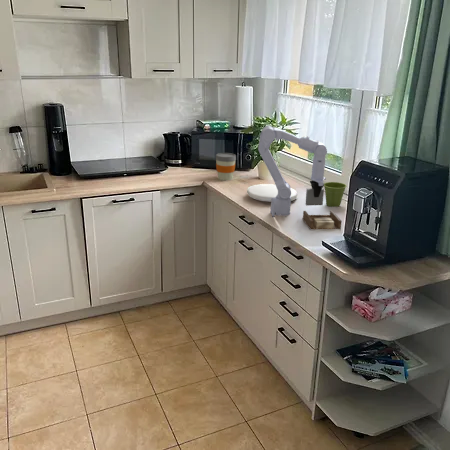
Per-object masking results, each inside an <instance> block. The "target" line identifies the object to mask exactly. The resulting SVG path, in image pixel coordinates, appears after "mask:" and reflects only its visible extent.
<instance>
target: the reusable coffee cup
mask: <svg viewBox="0 0 450 450" xmlns="http://www.w3.org/2000/svg"><path fill="white" fill-rule="evenodd" d="M236 156H237V155H236V154H234V153H231V152H220V153H219V152H218V153H217V154H215V161H216V163H215V167H216V172H217V179H218V180H219V181H231V180H233V177H234V173H235V169H236V160H237V157H236Z"/></svg>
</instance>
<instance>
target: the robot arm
mask: <svg viewBox="0 0 450 450" xmlns="http://www.w3.org/2000/svg"><path fill="white" fill-rule="evenodd" d="M274 140H275V141H280V140H284V141H286V142H289V143H293V144H295V145H297V146H298V148H299V149H301V150H303V151H305V152H308V153H311V154H313V159H312V168H311V175H310V180H309V183H310V185H311V188H313V189H314V197H319V195H320V192H321V190H322V188H323V189H324V183H325V182H324V180H327V178H326V177H325V168H326V155H327V153H328V149H327V147H326V145H325V144H324V143H323V142H321V141H319V140H314V139H311V138H310V136H307V135H306V136H302V137H299V136H296V135H294V134H293V133H290V132H287V131H286V130H283V129H281V128H279V127H275V126H271V125H266V126H264V127H263V128H262V130H261V132H260V134H259V142H258V147H257V148H258V149H257V150H258V152H259V155H260V156H261V158H262V160H263V162H264V165H265V166H266V169H267V170H268V172H269V174H270V177H271V178H272V180H273V182H274V184H275V185H276V187H277V190H278V195H277V196H276V197H275V198H272V199H271V202H270V211H269V212H270V215H271V216H272V218H276V217H275V216H289V215H290V214H291V206H292V205H291V203H292V201H291V190H290V188H291V185H290V183H288V182H287V181H286V179H285V178H284V176H283V175H282V172H281V170H280V169H279V166H278V165H277V163H276V160H275V159H274V157H273V154H272V152H271V150H270V147H271V144H272V143H273V142H274Z"/></svg>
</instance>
